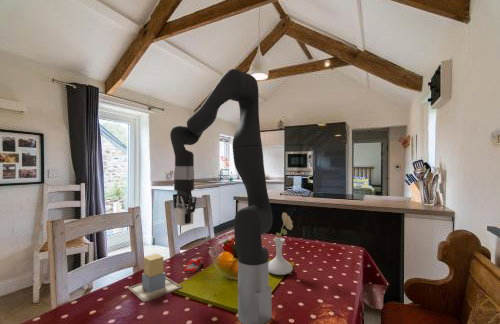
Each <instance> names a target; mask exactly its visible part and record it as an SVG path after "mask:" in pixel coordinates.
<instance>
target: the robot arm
mask: <svg viewBox="0 0 500 324" xmlns="http://www.w3.org/2000/svg"><path fill="white" fill-rule="evenodd" d="M259 96H260V95H259V85H258V81H257V80H256V77H254V76H253V75H252V74H250V73H247V72H244V71H242V70H241V69H236V68H231V69H228V70H227V71H226V72H225V73H224V74H223V75H222V76H221V78H219V80H218V82H217V84H215V86H214V88H213V89H212V91H211V92H210V94H209V95H208V96H207V97H206V99H205V100H204V102H203V103H202V104H201V106H200V107H198V109H197V110H196V111H195V112H194V113H193V114H192V115H190V117H189V118H188V119H187V121H186V126H185V125H184V126H183V125H175V126H174V127H172V129H171V130H170V134H169V136H170V143H171V145H172V149H173V153H174V171H173V177H174V179H173V189H174V191H175V192H176V193H173V194H172V201H173V209H174V210H175V208H179V207H183V208H184V209H185V223H186V224H188V223H191V213H192V212H193V213H195V211H196V205H197V196H193V194H192V191H194V190H195V166H194V165H195V164H194V163H195V160H194V159H195V156H194V153H193V151H190V150H188V149H186V147H185V146H193V145H195V144H196V143H198V142H199V140H200V138H201V136H202V134H203V133H204V132H205V131H206V130H207V129H208V128H209V127H211V126H212V124H213V123H214V122H215V121H216V119H217V115H218V112H219V109H220V107H221V106H223V105H224V104H226V102H228V101H230V100H231V101H234V102H237V103H238V107H239V108H238V109H239V124H238V126H237V128H236V131H235V133H234V136H233V138H232V155H233V163H234V166H235V169H236V171H237V174H238V175H239V178H240V179H241V181H242V183H243V186H244V188H245V190H246V196H247V206H246V207H242V208H240V209H239V210H238V211H237V212H236V214H235V216H234V219H233V220H234V221H233V227H234V228H233V232H234V234H233V235H234V247H235V252H236V255H237V319H238V321H239V322H240V323H241V324H266V323H268V322H270V321H271V320H272V317H273V316H272V311H273V310H272V286H270V283H269V282H270V281H269V279H270V278H269V277H270V275H269V273H270V272H269V262H270V261H269V259H270V258H269V254H270V253H269V251H268V249H267V248H266V247H263V245H262V244H263V242H262V241H263V240H262V236H263V235H265V234H267V233H268V232H269V231H270V230H271V228H272V225H273V221H274V220H273V212H272V208H271V207H272V206H271V202H270V199H269V194H268V188H267V178H266V171H265V164H264V163H265V162H264V152H263V151H264V150H263V143H262V137H261V126H260V112H259V111H260V109H259V104H260V103H259V99H260V98H259ZM187 207H188V210H187Z"/></svg>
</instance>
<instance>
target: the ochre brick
mask: <svg viewBox="0 0 500 324" xmlns="http://www.w3.org/2000/svg"><path fill="white" fill-rule="evenodd" d="M163 272H164V256H162V255H161V254H158V253H154V254H151V255H147V256H144V257H143V273H144V274H145V275H147V276H148V277H150V278H151V277H154V276H157V275H160V274H163Z"/></svg>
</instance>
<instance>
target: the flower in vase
mask: <svg viewBox="0 0 500 324" xmlns="http://www.w3.org/2000/svg"><path fill="white" fill-rule="evenodd" d="M281 219H282V222H283V224H282V227H281V230H280V233H279V232H276V233H275V236H278V237H275V238H273V239H272V240H273V242H274V243H275V248H276V254H275V257H273V259H272V260H270V261H269V273H270V274H273V275H276V276H284V275H288V274H291V273H292V272H293V269H294V268H293V265H292V264H291V263H290V262H289V261H287V260H286V258H284V257H283V253H282V252H283V244H284V242H285V240H286V239H285V238H283V237H281V236H282V234H283V235H284V236H286V235H288V231H287V230H286V229H288V230H289V231H292V230H293V228H294V226H293V223H294V222H293V220H292V219H291V217H290V215H288V213H286V212H282V215H281ZM284 226H285V227H286V229H285V228H284Z"/></svg>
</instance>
